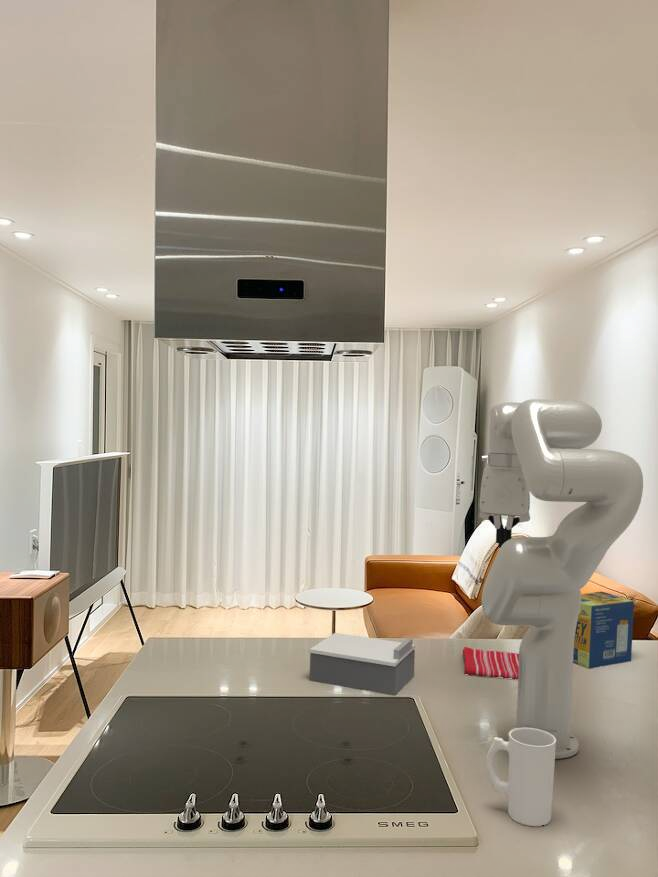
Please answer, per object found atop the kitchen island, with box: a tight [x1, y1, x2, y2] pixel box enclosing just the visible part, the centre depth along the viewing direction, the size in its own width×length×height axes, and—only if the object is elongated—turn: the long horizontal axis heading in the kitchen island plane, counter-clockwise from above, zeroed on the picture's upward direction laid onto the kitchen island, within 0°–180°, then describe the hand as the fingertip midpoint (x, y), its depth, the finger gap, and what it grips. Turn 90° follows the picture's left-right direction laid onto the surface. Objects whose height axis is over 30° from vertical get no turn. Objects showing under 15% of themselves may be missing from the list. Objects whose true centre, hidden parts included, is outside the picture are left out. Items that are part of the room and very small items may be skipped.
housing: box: [309, 649, 416, 696], centre depth 172 cm, size 14×20×6 cm
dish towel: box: [462, 646, 519, 680], centre depth 182 cm, size 17×24×3 cm
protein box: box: [573, 591, 635, 669], centre depth 191 cm, size 10×15×16 cm
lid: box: [309, 632, 416, 667], centre depth 172 cm, size 15×20×3 cm
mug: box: [485, 728, 556, 827], centre depth 114 cm, size 10×7×12 cm, turn 68°
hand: (503, 547), depth 163 cm, fingers closed
